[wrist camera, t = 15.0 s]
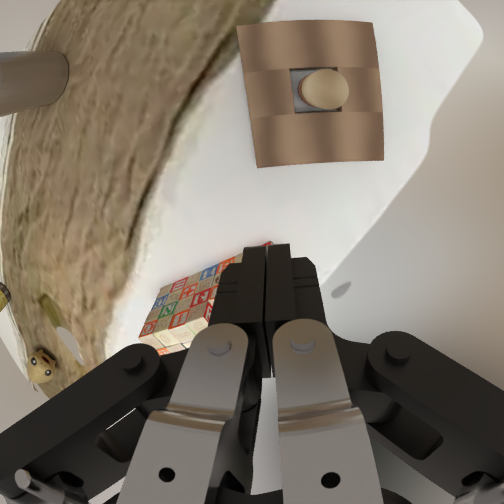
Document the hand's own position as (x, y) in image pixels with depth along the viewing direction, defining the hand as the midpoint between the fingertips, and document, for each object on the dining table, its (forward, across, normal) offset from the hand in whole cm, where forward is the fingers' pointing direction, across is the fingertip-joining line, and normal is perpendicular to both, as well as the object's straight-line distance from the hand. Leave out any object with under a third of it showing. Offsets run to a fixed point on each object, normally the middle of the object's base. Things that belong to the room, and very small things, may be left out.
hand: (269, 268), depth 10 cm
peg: (+29, -6, -6) cm, 30 cm away
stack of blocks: (+29, +10, +21) cm, 38 cm away
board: (+29, -6, -6) cm, 30 cm away
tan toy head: (+29, +72, +47) cm, 91 cm away
